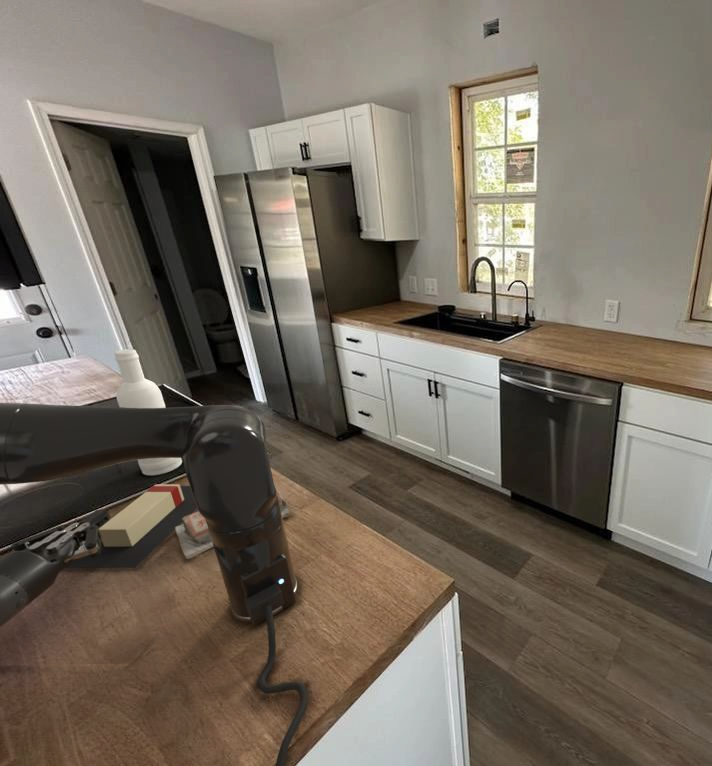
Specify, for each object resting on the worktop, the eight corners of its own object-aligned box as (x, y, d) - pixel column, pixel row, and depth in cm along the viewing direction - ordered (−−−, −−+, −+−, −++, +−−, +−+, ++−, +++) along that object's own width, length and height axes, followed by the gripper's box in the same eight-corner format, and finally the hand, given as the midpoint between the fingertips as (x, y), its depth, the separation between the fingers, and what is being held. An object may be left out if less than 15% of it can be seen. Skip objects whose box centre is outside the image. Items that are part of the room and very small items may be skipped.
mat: (136, 568, 72) (135, 567, 72) (52, 569, 72) (52, 568, 72) (220, 487, 95) (220, 486, 95) (157, 487, 94) (157, 486, 94)
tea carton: (125, 529, 75) (179, 483, 88) (96, 529, 75) (155, 484, 88) (132, 546, 77) (184, 499, 90) (104, 547, 76) (160, 499, 89)
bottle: (188, 456, 106) (155, 345, 95) (174, 473, 99) (136, 355, 88) (151, 460, 104) (113, 347, 93) (134, 478, 97) (91, 357, 86)
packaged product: (271, 477, 91) (288, 497, 84) (275, 495, 93) (291, 516, 86) (169, 513, 79) (179, 540, 72) (176, 533, 81) (186, 561, 74)
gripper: (35, 573, 57) (136, 496, 73) (-68, 575, 56) (58, 496, 72) (55, 613, 59) (149, 529, 75) (-42, 615, 59) (73, 530, 75)
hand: (104, 513), depth 74 cm, fingers closed
